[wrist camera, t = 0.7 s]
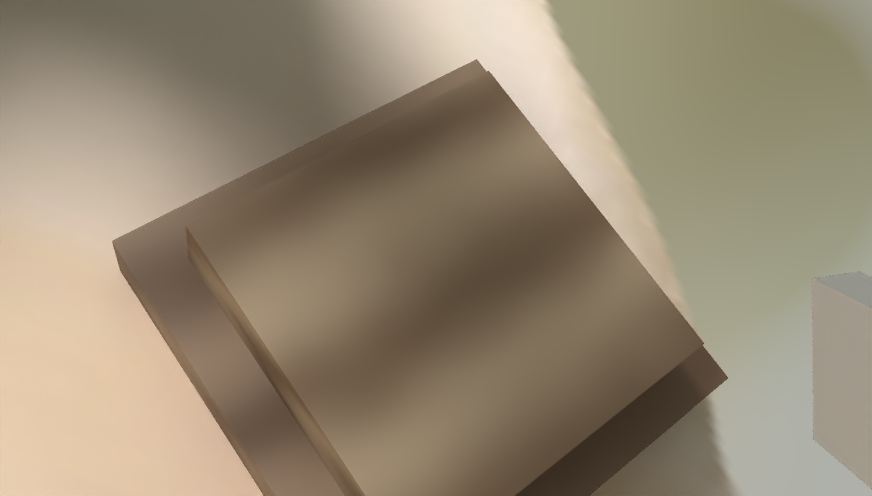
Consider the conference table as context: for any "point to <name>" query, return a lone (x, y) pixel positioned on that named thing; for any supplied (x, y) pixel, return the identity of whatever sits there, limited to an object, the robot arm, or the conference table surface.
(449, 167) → the stand
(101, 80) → the conference table surface
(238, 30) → the conference table surface
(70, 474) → the conference table surface
